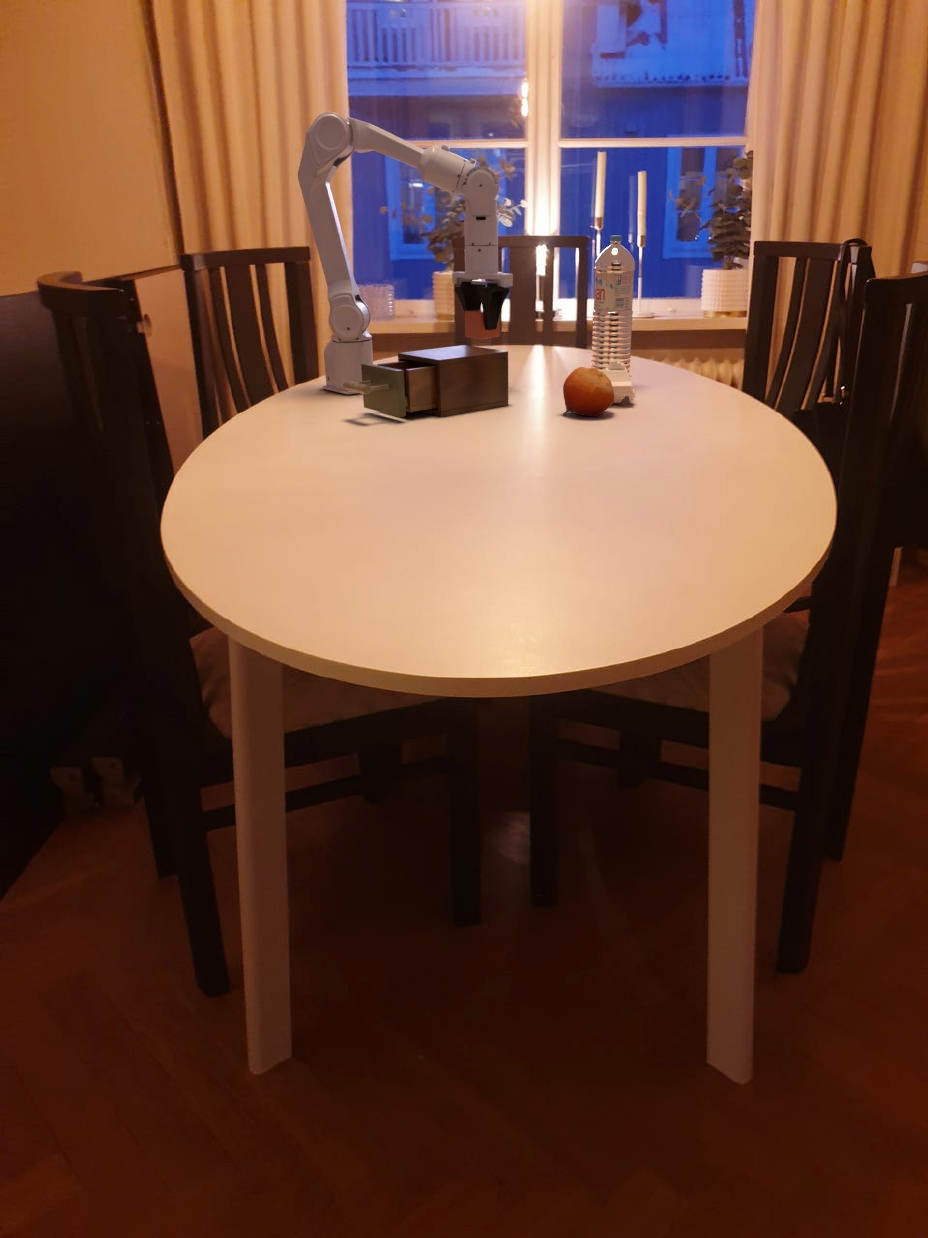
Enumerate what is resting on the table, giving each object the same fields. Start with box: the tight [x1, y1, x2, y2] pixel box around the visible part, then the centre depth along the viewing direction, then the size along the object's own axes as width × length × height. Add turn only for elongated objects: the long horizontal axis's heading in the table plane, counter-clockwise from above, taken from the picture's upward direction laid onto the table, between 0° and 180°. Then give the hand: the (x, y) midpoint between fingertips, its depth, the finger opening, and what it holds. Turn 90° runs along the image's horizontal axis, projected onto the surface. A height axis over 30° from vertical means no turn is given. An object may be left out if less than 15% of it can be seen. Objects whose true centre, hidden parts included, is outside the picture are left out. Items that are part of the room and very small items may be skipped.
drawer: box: [343, 360, 438, 418], centre depth 141 cm, size 17×10×7 cm, turn 127°
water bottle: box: [590, 234, 636, 375], centre depth 156 cm, size 7×7×25 cm
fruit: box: [562, 366, 614, 418], centre depth 138 cm, size 8×8×8 cm
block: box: [464, 308, 501, 340], centre depth 159 cm, size 4×4×4 cm
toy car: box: [604, 359, 636, 404], centre depth 148 cm, size 6×12×7 cm, turn 175°
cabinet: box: [397, 344, 509, 418], centre depth 146 cm, size 14×12×9 cm
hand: (482, 328), depth 159 cm, fingers closed on block, 4 cm apart
